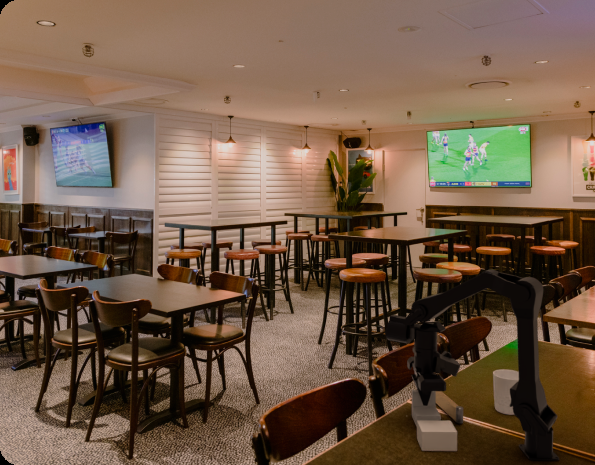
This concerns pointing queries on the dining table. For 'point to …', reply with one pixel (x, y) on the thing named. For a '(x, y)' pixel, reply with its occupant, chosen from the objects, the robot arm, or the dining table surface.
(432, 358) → the robot arm
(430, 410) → the grey l-shaped block
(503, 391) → the white cup
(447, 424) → the socket block
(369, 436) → the dining table surface
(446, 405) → the tan long bar
